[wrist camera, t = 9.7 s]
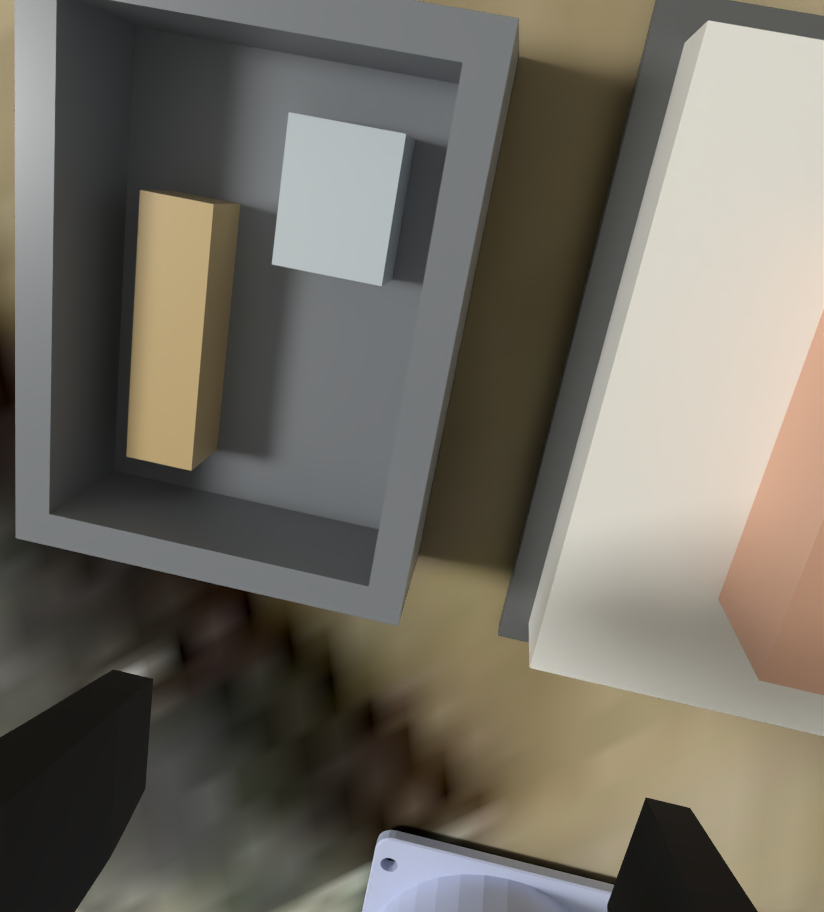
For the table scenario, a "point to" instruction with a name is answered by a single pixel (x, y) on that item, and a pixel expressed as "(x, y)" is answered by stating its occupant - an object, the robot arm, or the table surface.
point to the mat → (617, 266)
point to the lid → (709, 409)
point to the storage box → (247, 280)
